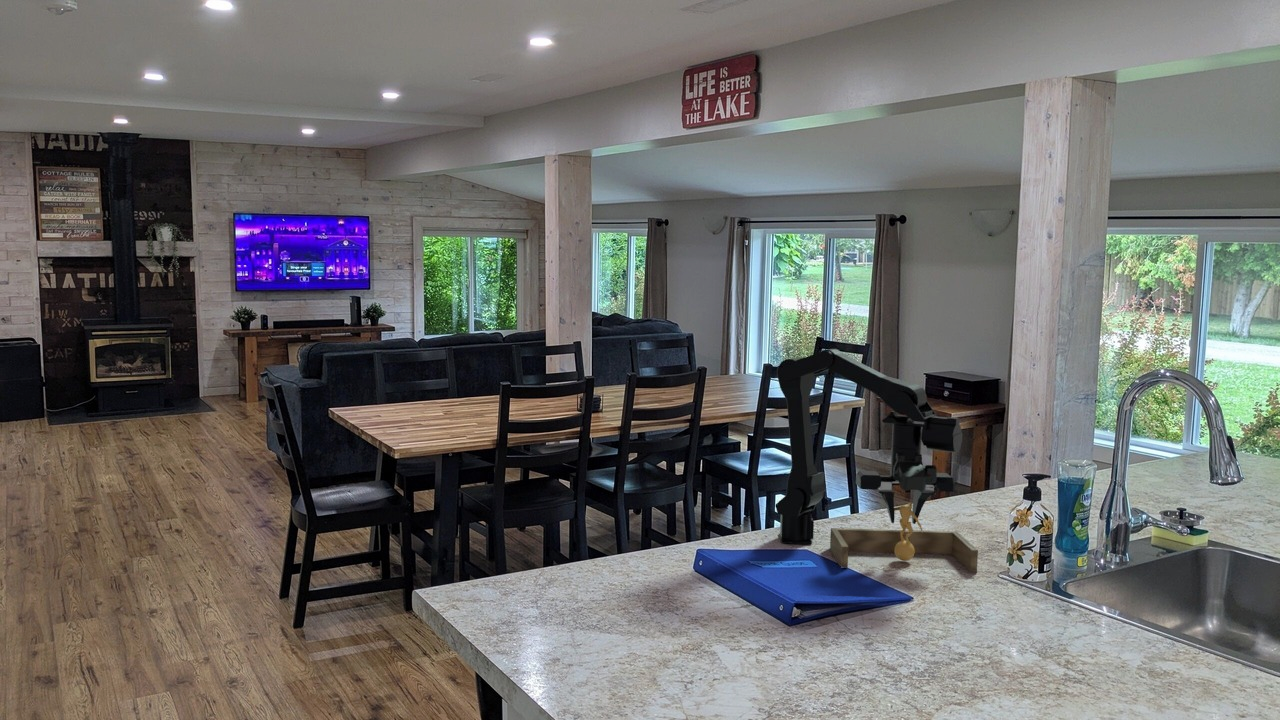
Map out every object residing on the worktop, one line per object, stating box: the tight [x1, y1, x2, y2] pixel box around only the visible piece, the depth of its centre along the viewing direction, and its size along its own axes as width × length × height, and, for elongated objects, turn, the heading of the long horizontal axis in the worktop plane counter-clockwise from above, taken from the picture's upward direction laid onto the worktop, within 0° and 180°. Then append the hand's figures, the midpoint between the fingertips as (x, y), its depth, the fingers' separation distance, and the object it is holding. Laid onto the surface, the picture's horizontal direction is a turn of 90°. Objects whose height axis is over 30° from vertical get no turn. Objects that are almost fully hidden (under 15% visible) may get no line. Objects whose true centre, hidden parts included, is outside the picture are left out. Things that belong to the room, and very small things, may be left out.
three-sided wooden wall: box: [829, 527, 979, 574], centre depth 197 cm, size 26×14×4 cm, turn 88°
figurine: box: [893, 502, 924, 562], centre depth 195 cm, size 8×6×12 cm
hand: (903, 523), depth 195 cm, fingers open, 4 cm apart
